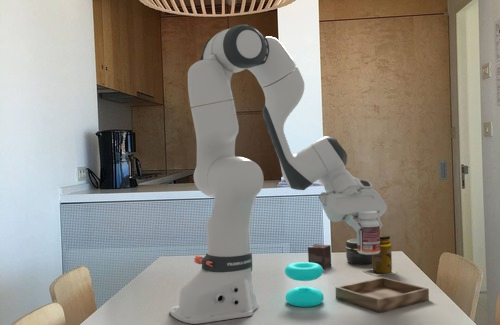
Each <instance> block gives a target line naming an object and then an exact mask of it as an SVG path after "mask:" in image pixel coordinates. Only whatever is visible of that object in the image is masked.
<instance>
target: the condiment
mask: <svg viewBox="0 0 500 325" xmlns="http://www.w3.org/2000/svg"><path fill="white" fill-rule="evenodd" d="M392 254H393V253H392V244H391V235H389V234H381V233H380V253H378V254H372V260H373V263H372V269H367V270H366V269H365V270H363V272H364V273H367V274H369V275H371V276H375V277H379V276H384V275H386V276H387V275H392V274H393V275H394V274H398V272H397V271H393V265H392V264H393V263H392Z"/></svg>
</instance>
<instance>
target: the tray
mask: <svg viewBox="0 0 500 325" xmlns="http://www.w3.org/2000/svg"><path fill="white" fill-rule="evenodd" d="M429 294H430V291H429V288H427V287H423V286H419V285H415V284H411V283H407V282H403V281H400V280H395V279H392V278H387V277H379V278H374V279H368V280H364V281H359V282H355V283H350V284H345V285H340V286H336V287H335V299H337V300H340V301H343V302H346V303H349V304H352V305H355V306H358V307H361V308H364V309H366V310H370V311H373V312H376V313H379V314H380V313H381V314H382V313H385V312H388V311H392V310H397V309H401V308H403V307H408V306H411V305H416V304H419V303H423V302H426V301H427V302H429V300H430V296H429Z"/></svg>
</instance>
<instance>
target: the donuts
mask: <svg viewBox="0 0 500 325" xmlns="http://www.w3.org/2000/svg"><path fill="white" fill-rule="evenodd" d="M284 273H285V275H286V276H287V277H288V278H289V279H291V280H292V281H293V280H294V281H298V282H310V281H314V280H315V281H316V280H318V279H319V278H320V277H321V276H323V274H324V269H323V268H322V266H321V265H319V264H317V263H312V262H309V261H300V262H299V261H298V262H291V263H289V264H288V265H287V266H286V267H285V268H284ZM324 297H325V296H324V293H323V292H322V291H321V290H320V289H318V288H316V287H312V286H296V287H292V288H291V289H289V290H288V291H287V292H286V295H285V300H286V302H287V304H289V305H291V306H296V307H300V308H308V307H309V308H311V307H316V306H319V305H320V304H322V303H323V301H324Z"/></svg>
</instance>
